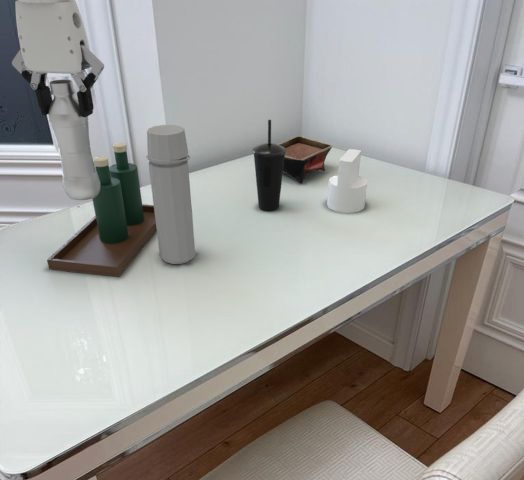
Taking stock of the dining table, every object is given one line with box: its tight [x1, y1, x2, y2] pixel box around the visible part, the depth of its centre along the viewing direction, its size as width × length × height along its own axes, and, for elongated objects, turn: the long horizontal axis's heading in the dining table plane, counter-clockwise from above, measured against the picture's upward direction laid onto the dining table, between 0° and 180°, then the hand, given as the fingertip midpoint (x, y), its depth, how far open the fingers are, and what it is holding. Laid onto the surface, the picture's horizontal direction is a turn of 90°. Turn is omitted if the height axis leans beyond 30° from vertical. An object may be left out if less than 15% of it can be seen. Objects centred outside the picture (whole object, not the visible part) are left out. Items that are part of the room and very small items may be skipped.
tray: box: [46, 203, 157, 278], centre depth 117 cm, size 15×30×2 cm, turn 168°
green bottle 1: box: [91, 155, 129, 243], centre depth 113 cm, size 6×6×17 cm
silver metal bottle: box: [47, 79, 100, 201], centre depth 97 cm, size 6×7×20 cm
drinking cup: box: [251, 119, 286, 212], centre depth 126 cm, size 8×8×20 cm
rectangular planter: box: [277, 135, 333, 184], centre depth 149 cm, size 14×18×10 cm
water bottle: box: [146, 124, 196, 265], centre depth 105 cm, size 9×8×25 cm
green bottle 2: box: [109, 142, 144, 226], centre depth 120 cm, size 6×6×17 cm
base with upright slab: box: [326, 148, 368, 214], centre depth 129 cm, size 9×9×12 cm
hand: (67, 113), depth 94 cm, fingers closed on silver metal bottle, 6 cm apart
